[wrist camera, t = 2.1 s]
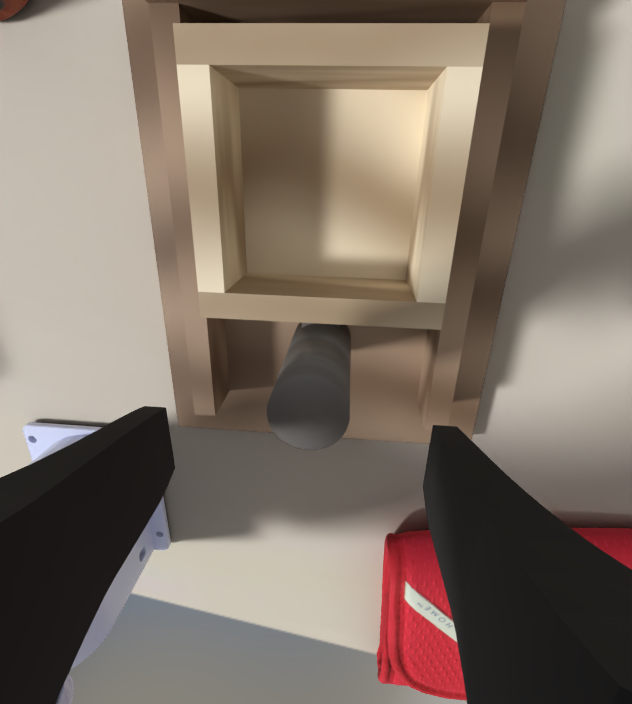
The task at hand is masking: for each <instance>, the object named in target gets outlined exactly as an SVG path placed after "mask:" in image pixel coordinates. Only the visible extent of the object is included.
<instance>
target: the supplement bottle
mask: <svg viewBox="0 0 632 704" xmlns="http://www.w3.org/2000/svg"><path fill="white" fill-rule="evenodd" d="M28 1H29V0H0V21H2V20H5V19H8V18H10V17H12V16H13V15H15V14H16V13H18V12H19V11H20V10H21V9H22V8H23V7H24V6H25V5H26V3H27V2H28Z"/></svg>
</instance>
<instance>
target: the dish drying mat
mask: <svg viewBox="0 0 632 704" xmlns="http://www.w3.org/2000/svg"><path fill="white" fill-rule="evenodd" d="M572 529H573V530H574V531H576V532H577V533H578V534H580V535H581V536H582V537H584V538H585V539H586V540H588V541H589V542H591V543H592V544H594V545H595V546H597V547H598V548H599V549H601V550H602V551H604V552H605V553H607V554H608V555H610V556H611V557H613V558H614V559H616V560H618V561H619V562H621V563H622V564H624V565H625V566H627V567H628V568H630V569H632V528H572ZM377 664H378V679H379V681H380V682H381V683H383V684H384V683H385V684H395V685H405V686H410V687H411V688H413V689H416V690H418V691H420V692H422V693H426V694H430V695H434V696H438V697H443V698H448V699H459V700H467V698H466V692H465V685H464V679H463V673H462V667H461V661H460V655H459V649H458V643H457V637H456V632H455V627H454V623H453V618H452V614H451V609H450V605H449V602H448V598H447V594H446V590H445V587H444V583H443V579H442V575H441V572H440V568H439V564H438V560H437V556H436V553H435V549H434V545H433V541H432V537H431V533H430V530H422V531H407V532H404V533H401V534H393V533H389V534H387V536H386V539H385V547H384V561H383V583H382V607H381V626H380V645H379V648H378V652H377Z"/></svg>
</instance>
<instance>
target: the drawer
mask: <svg viewBox="0 0 632 704" xmlns="http://www.w3.org/2000/svg"><path fill="white" fill-rule="evenodd" d="M489 25H490V23H173V33H174V44H175V54H176V65H177V75H178V86H179V96H180V107H181V117H182V128H183V139H184V149H185V160H186V170H187V181H188V191H189V202H190V212H191V223H192V233H193V244H194V254H195V265H196V275H197V286H198V297H199V307H200V317H203V318H222V319H242V320H261V321H280V322H300V323H299V324H298V326H297V328H296V330H295V333H294V336H293V338H292V341H291V343H290V346H289V349H288V351H287V354H286V357H285V359H284V362H283V364H282V367H281V370H280V372H279V375H278V378H277V380H276V383H275V385H274V388H273V391H272V393H271V396H270V399H269V401H268V404H267V419H268V423H269V425H270V427H271V429H272V430H273V432H274V433H275V434H276V435H277V436H278V437H279V438H280V439H281V440H282V441H284V442H285V443H287V444H289V445H291V446H293V447H296V448H300V449H306V450H316V449H322V448H325V447H328V446H330V445H332V444H334V443H335V442H337V441H338V440H339V439H340V438H341V437H342V436H343V435H344V433H345V432H346V430H347V428H348V425H349V420H350V369H351V334H350V330H349V328H348V326H347V325H358V326H377V327H397V328H416V329H435V330H441V328H442V322H443V315H444V309H445V303H446V297H447V290H448V284H449V278H450V271H451V265H452V259H453V252H454V246H455V240H456V233H457V227H458V221H459V215H460V208H461V202H462V196H463V189H464V183H465V177H466V170H467V164H468V158H469V151H470V145H471V139H472V132H473V126H474V120H475V114H476V107H477V101H478V95H479V88H480V82H481V76H482V69H483V63H484V57H485V50H486V44H487V38H488V31H489Z"/></svg>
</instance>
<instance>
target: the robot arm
mask: <svg viewBox="0 0 632 704" xmlns="http://www.w3.org/2000/svg"><path fill="white" fill-rule="evenodd" d="M23 433H24V436H25V439H26V442H27V445H28V448H29V452H30V455H31V458H32V462H31V463H30V464H29V465H28V466H26V467H24V468H21V469H19V470H17V471H15V472H12V473H10V474H8V475H6V476H3V477H1V478H0V704H71V702H72V698H73V691H74V683H73V679H72V678H71V676H70V675H69V671H70V670H71V669H72V668H74V667H75V666H76V665H78V664H79V663H81V662H82V661H83V660H84V659H86V658H87V657H88V656H89V655H90V654H91V653H92V652H93V651H94V650H95V649H96V648H97V647H98V646H99V645H100V644H101V643H102V642H103V640H104V639H105V638H106V636H107V635H108V633H109V632H110V630H111V628H112V626H113V625H114V623H115V621H116V619H117V617H118V615H119V613H120V612H121V610H122V608H123V606H124V604H125V602H126V600H127V599H128V597H129V595H130V593H131V591H132V589H133V587H134V586H135V584H136V582H137V580H138V578H139V576H140V574H141V573H142V571H143V569H144V567H145V565H146V563H147V561H148V560H149V558H150V556H151V554H152V552H153V550H154V549H156V550H166V549H168V548H169V546H170V544H171V540H170V534H169V528H168V522H167V516H166V509H165V503H164V497H163V495H164V493H165V490H166V488H167V486H168V484H169V481H170V479H171V476H172V474H173V471H174V469H175V465H174V458H173V451H172V445H171V438H170V432H169V425H168V418H167V412H166V408H163V407H147V406H144V407H142V408H139V409H137V410H135V411H133V412H131V413H129V414H127V415H125V416H123V417H121V418H119V419H117V420H115V421H114V422H112V423H110V424H108V425H106V426H104V427H92V426H78V425H64V424H51V423H37V422H30V423H28V424H27V425H25V426H24V427H23ZM423 491H424V499H425V507H426V514H427V521H428V525H429V529H430V533H431V537H432V541H433V545H434V549H435V553H436V556H437V560H438V564H439V568H440V572H441V575H442V579H443V583H444V587H445V590H446V594H447V598H448V602H449V605H450V609H451V614H452V618H453V623H454V627H455V632H456V637H457V643H458V649H459V655H460V661H461V667H462V673H463V679H464V685H465V692H466V698H467V704H632V569H630V568H628V567H627V566H625V565H624V564H622V563H621V562H619V561H618V560H616V559H614V558H613V557H611V556H610V555H608V554H607V553H605V552H604V551H602V550H601V549H599V548H598V547H597V546H595V545H594V544H592V543H591V542H589V541H588V540H586V539H585V538H584V537H582V536H581V535H580V534H578V533H577V532H576V531H574V530H573V529H572V528H570V527H569V526H567V525H566V524H565V523H563V522H562V521H561V520H559V519H558V518H557V517H556V516H554V515H553V514H552V513H550V512H549V511H548V510H547V509H545V508H544V507H543V506H542V505H541V504H539V503H538V502H537V501H536V500H535V499H534V498H532V497H531V496H530V495H529V494H528V493H526V492H525V491H524V490H523V489H522V488H521V487H520V486H518V485H517V484H516V483H515V482H514V481H513V480H512V479H511V478H510V477H508V476H507V475H506V474H505V473H504V472H503V471H502V470H501V469H500V468H499V467H498V466H497V465H496V464H495V463H494V462H493V461H492V460H490V459H489V458H488V457H487V456H486V455H485V454H484V453H483V452H482V451H481V450H480V449H479V448H478V447H477V446H476V445H475V444H474V443H473V442H472V441H471V440H470V439H469V438H468V437H467V436H466V435H465V434H464V433H463V432H462V431H461V430H460V429H459V428H458V427H457V426H442V425H433V427H432V433H431V440H430V446H429V452H428V458H427V464H426V471H425V477H424V483H423Z"/></svg>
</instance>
